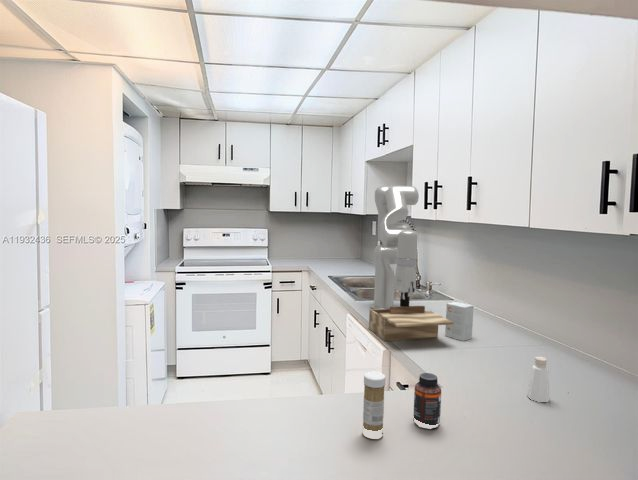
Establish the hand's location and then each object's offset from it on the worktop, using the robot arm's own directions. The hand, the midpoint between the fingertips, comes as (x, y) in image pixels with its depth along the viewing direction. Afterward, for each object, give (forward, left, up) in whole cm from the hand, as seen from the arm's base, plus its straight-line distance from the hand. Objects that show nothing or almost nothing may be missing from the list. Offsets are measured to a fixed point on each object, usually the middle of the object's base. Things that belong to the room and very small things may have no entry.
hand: (404, 308), depth 162 cm
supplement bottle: (+64, -25, -10) cm, 70 cm away
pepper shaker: (+58, +11, -10) cm, 60 cm away
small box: (+7, +20, -10) cm, 24 cm away
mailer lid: (+9, 0, -2) cm, 9 cm away
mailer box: (-1, 0, -10) cm, 10 cm away
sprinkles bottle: (+66, -39, -10) cm, 77 cm away
